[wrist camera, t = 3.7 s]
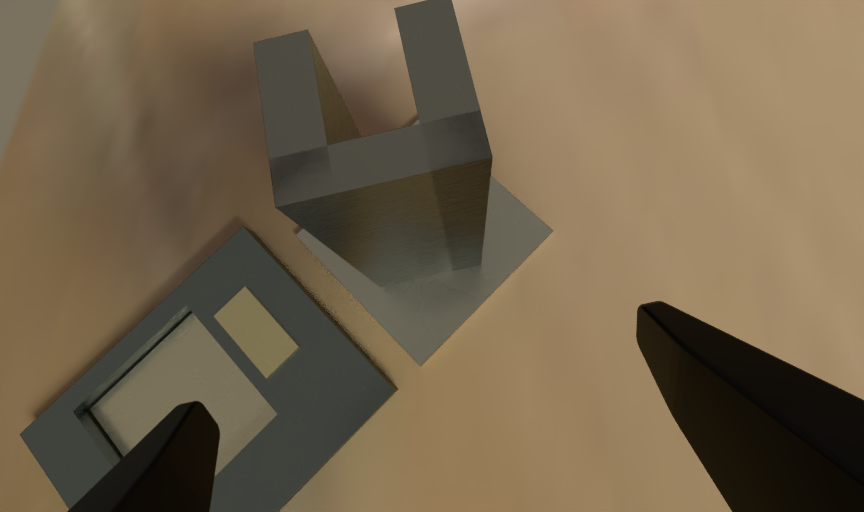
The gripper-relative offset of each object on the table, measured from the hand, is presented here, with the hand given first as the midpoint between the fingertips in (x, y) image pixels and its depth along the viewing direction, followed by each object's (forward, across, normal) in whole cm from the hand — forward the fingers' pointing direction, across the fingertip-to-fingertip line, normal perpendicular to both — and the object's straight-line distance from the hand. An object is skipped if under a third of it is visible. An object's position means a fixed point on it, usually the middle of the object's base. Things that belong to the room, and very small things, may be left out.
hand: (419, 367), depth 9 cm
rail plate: (+9, +12, +9) cm, 17 cm away
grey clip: (+13, 0, +4) cm, 14 cm away
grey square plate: (+13, 0, +4) cm, 14 cm away
